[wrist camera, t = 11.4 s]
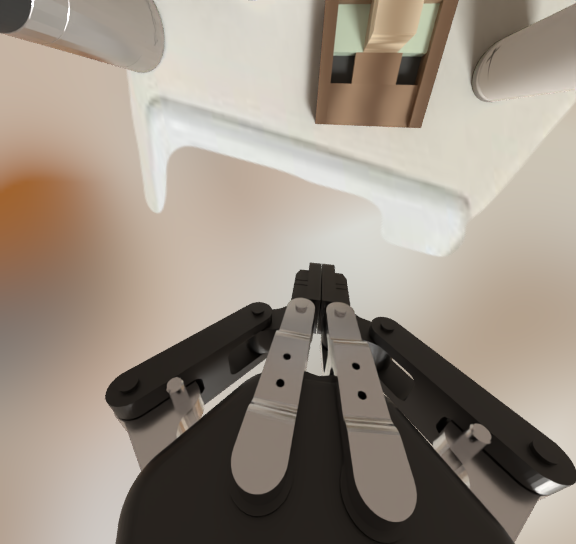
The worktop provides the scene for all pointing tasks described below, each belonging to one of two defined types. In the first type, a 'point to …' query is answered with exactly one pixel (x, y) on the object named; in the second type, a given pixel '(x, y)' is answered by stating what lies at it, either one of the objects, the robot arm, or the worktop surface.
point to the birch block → (391, 24)
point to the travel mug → (530, 61)
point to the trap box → (378, 67)
